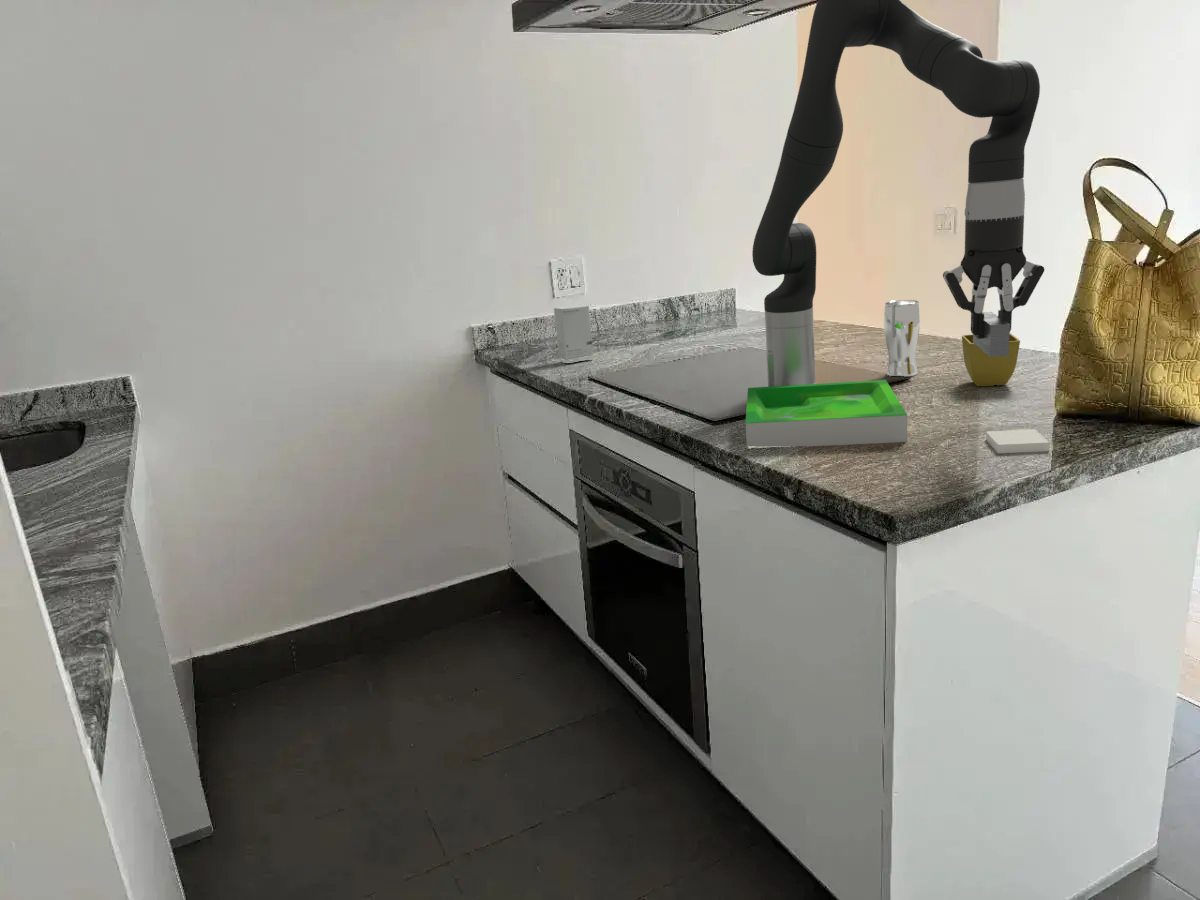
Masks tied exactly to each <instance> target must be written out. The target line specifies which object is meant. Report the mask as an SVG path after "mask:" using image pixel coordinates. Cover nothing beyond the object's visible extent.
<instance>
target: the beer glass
mask: <svg viewBox="0 0 1200 900" xmlns="http://www.w3.org/2000/svg"><path fill="white" fill-rule="evenodd" d="M919 303H920V302H919V300H917V299H916V300H914V299H899V300H891V301H887V302H885V303H884V315H883V331H884V336H885V337H884V338H885V344H886V348H887V353H888V363H887V364H888V365H887V369H886V375H887V376H888V375H889V376H888V377H891V376H904V377H903V378H910V377H914V376H916V375H918V366H917V362H916V361H917V360H916V355H917V354H916V353H917V345H918V341H919V337H920V329H921V328H920V324H921V319H920V317H921V316H920V314H921V313H920V305H919Z"/></svg>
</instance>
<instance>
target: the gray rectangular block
mask: <svg viewBox="0 0 1200 900" xmlns="http://www.w3.org/2000/svg"><path fill="white" fill-rule="evenodd" d="M982 313H984V331H983V339H977V338H976V337H975V335H973V334H972V335H973V343H974V344H975V345H976V346H978V347H979V348H980V349H981V350H982V351H983V352H985V353H986V354H987V355H988V356H989V357H998V356H1009V337H1010V333H1011V331H1010V324H1009V323H1008V322H1006V321H1005V320H1003V319H1001V318H1000V317H998V314H997V313H994V312H993V311H987V312H986V311H985V312H983V311H982Z"/></svg>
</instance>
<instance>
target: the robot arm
mask: <svg viewBox="0 0 1200 900" xmlns="http://www.w3.org/2000/svg"><path fill="white" fill-rule="evenodd" d="M813 11H814V12H813V15H812V20H811V24H810V29H809V35H808V40H807V46H806V47H807V48H806V53H805V54H806V55H805V60H804V65H803V70H802V76H801V79H800V84H799V86H798V87H799V88H798V91H797V96H796V101H795V105H794V109H793V112H792V116H791V120H790V122H789V126H788V128H787V132H786V135H785V140H784V144H783V148H782V150H781V151H782V152H781V156H780V160H779V164H778V168H777V171H776V174H775V178H774V181H773V186H772V189H771V192H770V195H769V198H768V200H767V202H766V206H765V208H764V211H763V214H762V217H761V219H760V222H759V225H758V226H757V227H758V228H757V230H756V233H755V236H754V240H753V243H752V244H753V245H752V252H751V253H752V256H751V257H752V264H753V266H754V269H755V270H756V272H758V273H759V274H760V275H762V276H765V277H773V276H774V277H775V276H781V275H783V279H782V282H781V283H780V285H779V286H778V287H776V288H775V289H774V290H772V291H771V292H769V293H768V294H766V296H765V297H764V299H763V300H764V301H763V302H764V303H763V304H764V306H763V307H764V317H765V318H764V320H765V321H764V322H765V323H764V326H765V345H766V346H765V347H766V366H767V367H766V369H767V370H766V371H767V387H772V386H789V385H806V384H817V382H816V363H815V362H816V361H815V360H816V359H815V356H816V355H815V333H814V332H815V330H814V329H815V328H814V297H815V294H816V290H817V289H816V287H817V278H816V277H817V243H816V238H815V235H814V233H813V230H812V229H811V227H810V226H808V225H807V224H806V223H802V222H795V223H794V220H795V218H796V216H797V215H798V212H799V211H800V209H801V208H802V207H803V205H804V204H805V203H806V201H807V200H808V199H809V198H810V197H811V195H813V193H814V192H815V191H816V190H817V189H818V187H819V186H820V185H821V184H822V183H823V182H824V180H825V179H826V177H827V176H828V175H829V173H830V172H831V170H832V168H833V166H834V163H835V160H836V157H837V154H838V152H839V147H840V145H841V140H842V138H843V133H844V119H843V115H842V111H841V110H842V109H841V106H840V101H839V98H838V94H837V88H836V85H837V84H836V83H837V82H836V81H837V74H838V71H839V67H840V63H841V58H842V56H843V53H844V50H845V48H853V47H855V48H856V47H857V48H858V47H865V46H867V45H868V46H876V47H881V48H884V49H887V50H891V51H893V52H895V53H896V54H898V55H899V57H900V60H901V61H902V63H903V66H904V67H905V69H906V70H907V71H908V72H909V73H910V74H911V75H912V76H914V77H915V78H917V79H919V80H920V81H922V82H924V83H925V84H927V85H929V86H931V87H933V88H934V89H936V90H939V91H941V92H942V93H943V95H944V96H945V97H946V98H947V99H948V101H950V103H951V104H952V105H953V106H954V107H955V108H956V109H957V110H959V111H960V112H962V113H963V114H965V115H968V116H969V117H970V116H971V117H975V118H981V119H982V118H983V119H985V118H991V122H990V125H989V128H988V131H987V134H985V135H984V136H983V137H982V136H981V137H980V138H977V139H976V140H974V141H973V142H972V143H971V145H970V147H969V150H968V166H967V167H968V170H967V171H968V175H967V176H968V177H967V190H966V191H967V192H966V198H965V209H964V217H965V219H964V220H965V221H964V223H965V225H964V253H963V258H962V259H961V261H960V265H959V266H956V267H955V268H953V269H951V270H945V271H944V272H943V273H942V278H943V279H944V281H945V283H946V286H947V288H948V289H949V291H950V292H951V296H952V297H953V299H954V301H955V303H956V304H957V306H958V307H959V308H960V309H962V310H963V311H964V310H966V311H968V312H970V332H971V335H975V337H976V338H977V339H983V331H984V313H983V311H984V307H985V299H986V297H987V294H988V289H992V288H996V289H997V293H998V298H999V299H998V300H999V306H1000V309H998V310H997V311H998V312H997V316H998V317H1000V318H1001V319H1003V320H1005V321H1006V322H1008V323H1009V324H1010V332H1011V331H1012V317H1013V311H1014V310H1015V309H1016V308H1018V307H1024V306H1026V305H1027V303H1028V302H1029V300H1030V298H1031V296H1032V294H1033V293H1034V290H1035V289H1036V288H1037V287H1036V286H1037V285H1038V283H1039V282H1040V279H1041V278H1042V276H1043V274H1044V272H1045V267H1044V266H1043V265H1041V264H1037V263H1032V262H1030V261H1027V257H1026V256H1025V253H1024V231H1025V230H1024V227H1025V208H1026V207H1025V205H1026V204H1025V203H1026V200H1025V199H1026V198H1025V196H1026V193H1025V192H1026V190H1025V184H1024V183H1025V181H1024V178H1025V147H1026V143H1027V141H1028V138H1029V136H1030V132H1031V129H1032V125H1033V121H1034V119H1035V114H1036V110H1037V107H1038V104H1039V100H1040V99H1039V98H1040V93H1041V92H1040V91H1041V85H1040V78H1039V74H1038V72H1037V69H1036V68H1035V66H1034V65H1033V64H1032V63H1030V62H1029V61H1028V60H1024V59H1002V60H1001V59H1000V60H989V59H985V58H984V57H983V53H982V51H981V49H980V48H979V47H978V46H977V45H976V44H975V43H973V42H971V41H970V40H968V39H966V38H964V37H963V36H960V35H958V34H955V33H953V32H952V31H949V30H947V29H945V28H942V27H941V26H938V25H936V24H935V23H932V21H929V20H927V18H924V17H923V16H922V15H920V14H919V13H917V12H916V11H915V10H914V9H912V8H910V7H909V6H908V5H907V4H905V2H903V1H902V0H817V2H816V5H815V7H814V10H813ZM1022 269H1023V272H1022V276H1023V277H1024V278H1023V280H1022V282H1021V284H1020V286H1019V287H1018V289H1017V291H1016V293H1015V295H1014V289H1013V281H1014V280H1015V279H1016V277H1017V276H1018V274H1020V272H1021V271H1022ZM963 274H964V275H965V276H967V278H968V280H970V282H971V283H972V288H971V301H970V300H968V297H967V295H966V294H965V292H964V290H963V288H962V286H961V283H962V282H963ZM1013 295H1014V297H1013Z"/></svg>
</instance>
